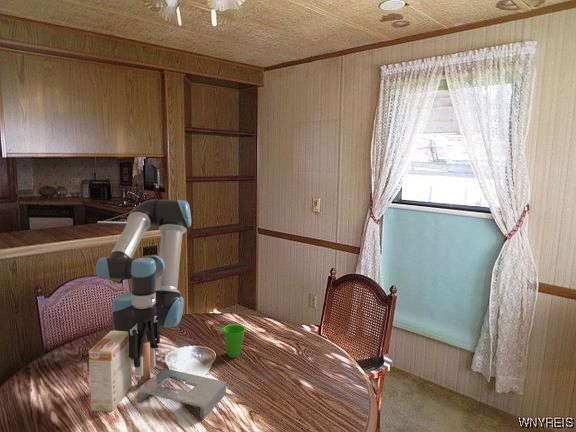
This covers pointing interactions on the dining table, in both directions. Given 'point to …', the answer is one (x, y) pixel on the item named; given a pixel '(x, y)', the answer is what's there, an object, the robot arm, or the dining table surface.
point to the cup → (234, 339)
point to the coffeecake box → (110, 371)
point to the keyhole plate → (201, 395)
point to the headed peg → (145, 363)
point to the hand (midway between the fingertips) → (145, 370)
